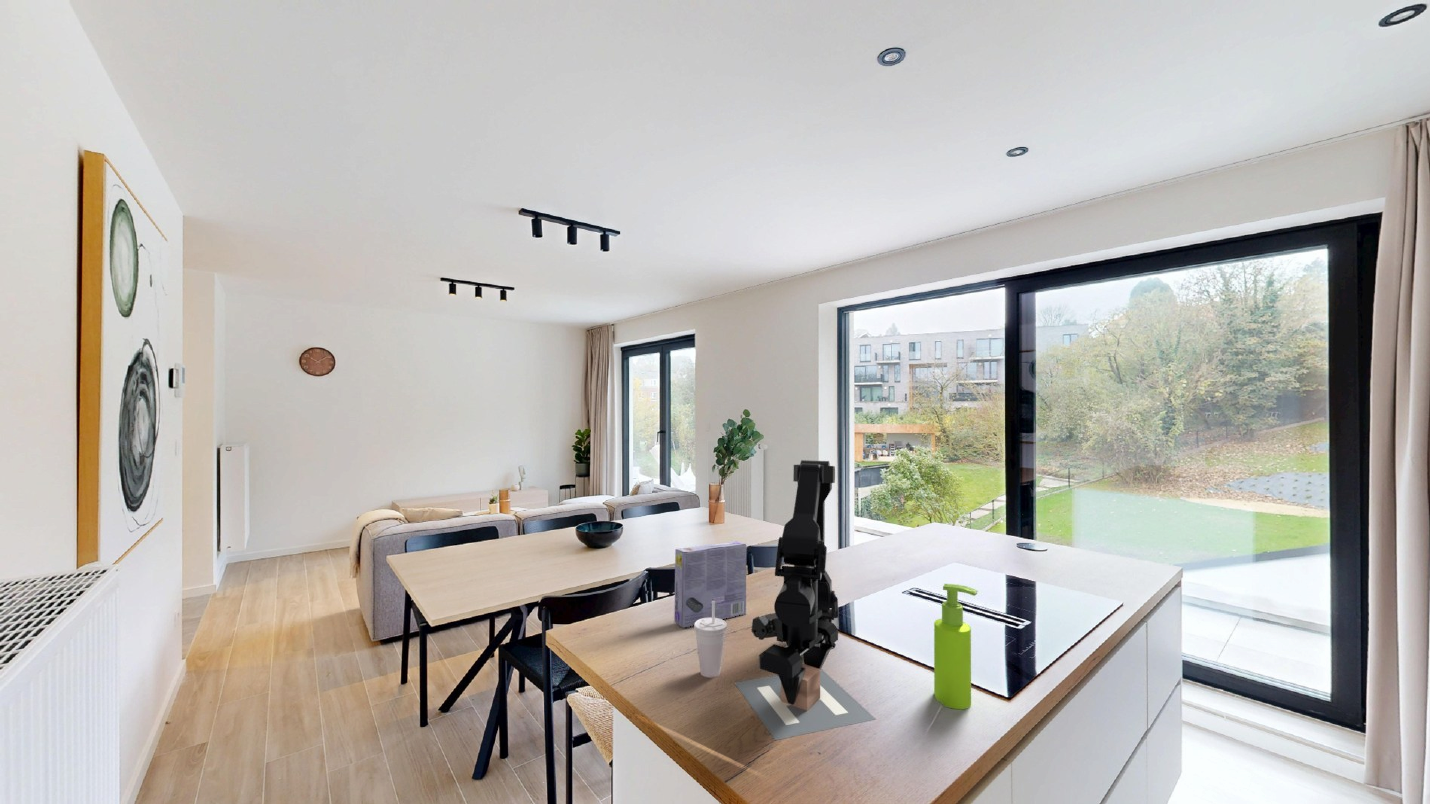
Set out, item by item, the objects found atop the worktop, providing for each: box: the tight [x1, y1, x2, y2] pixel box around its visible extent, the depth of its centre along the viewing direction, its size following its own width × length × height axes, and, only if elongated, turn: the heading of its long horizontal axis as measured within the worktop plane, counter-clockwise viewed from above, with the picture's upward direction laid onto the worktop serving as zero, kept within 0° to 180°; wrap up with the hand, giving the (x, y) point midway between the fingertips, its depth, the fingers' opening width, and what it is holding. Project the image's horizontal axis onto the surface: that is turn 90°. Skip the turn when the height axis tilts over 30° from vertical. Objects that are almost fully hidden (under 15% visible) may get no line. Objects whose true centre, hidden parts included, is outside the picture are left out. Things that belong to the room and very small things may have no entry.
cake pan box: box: [673, 541, 748, 629], centre depth 129 cm, size 19×5×18 cm, turn 121°
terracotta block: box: [781, 663, 820, 711], centre depth 92 cm, size 5×5×5 cm
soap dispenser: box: [933, 583, 979, 710], centre depth 93 cm, size 6×7×20 cm
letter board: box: [733, 668, 877, 741], centre depth 92 cm, size 18×18×1 cm
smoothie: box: [693, 601, 728, 678], centre depth 102 cm, size 6×6×14 cm
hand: (800, 694), depth 92 cm, fingers open, 7 cm apart
